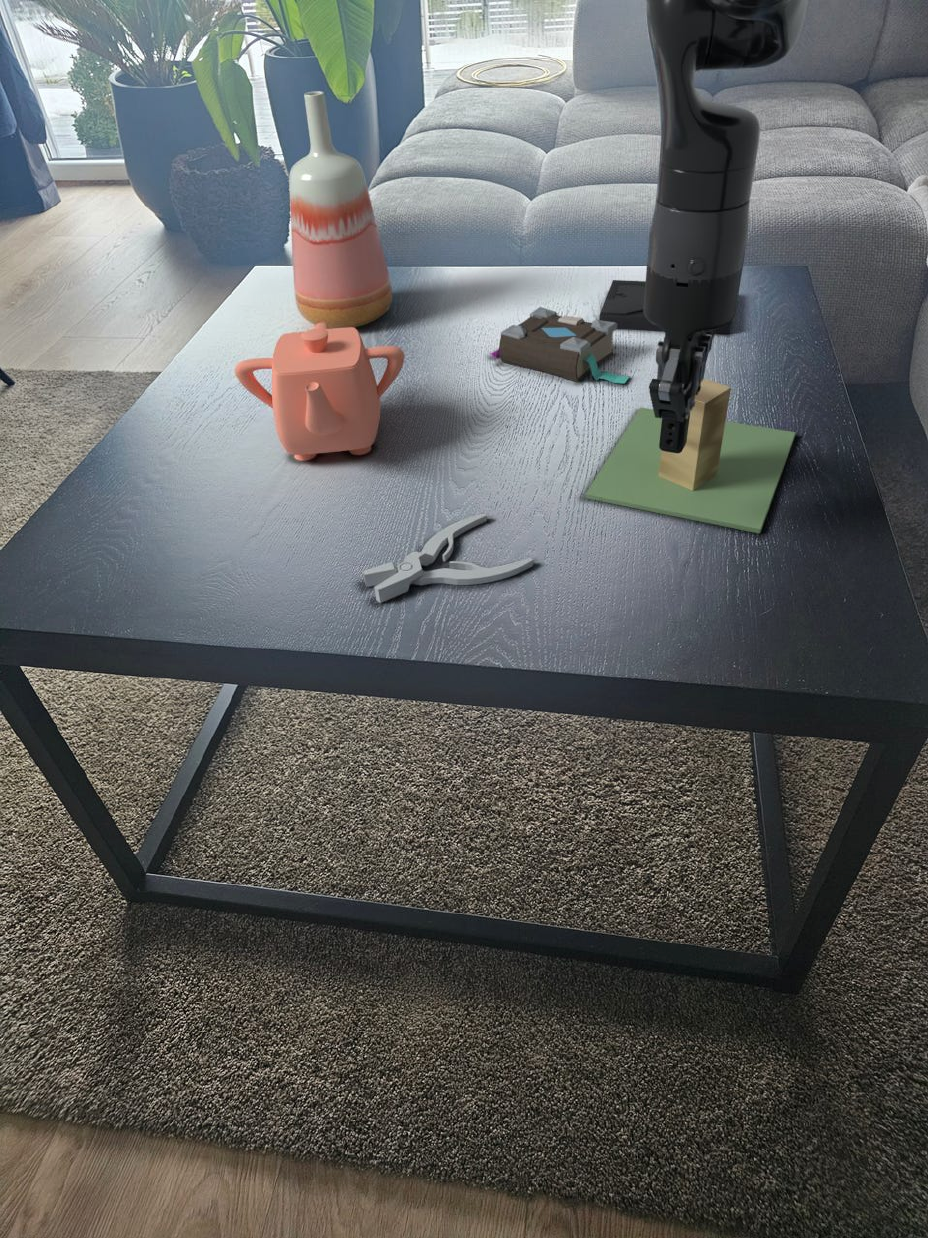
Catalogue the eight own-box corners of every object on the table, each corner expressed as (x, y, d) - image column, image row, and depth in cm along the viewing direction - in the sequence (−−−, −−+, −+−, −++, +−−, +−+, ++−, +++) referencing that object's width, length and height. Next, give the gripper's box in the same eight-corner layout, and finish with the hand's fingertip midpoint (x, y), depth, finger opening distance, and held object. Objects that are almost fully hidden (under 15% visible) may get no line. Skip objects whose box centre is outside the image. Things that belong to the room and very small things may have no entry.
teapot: (331, 396, 111) (313, 295, 102) (426, 427, 103) (415, 321, 95) (234, 454, 101) (205, 348, 93) (331, 493, 94) (309, 381, 85)
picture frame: (599, 327, 122) (727, 334, 118) (599, 312, 121) (730, 318, 117) (611, 292, 132) (731, 297, 128) (612, 277, 130) (733, 282, 126)
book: (658, 357, 114) (661, 320, 111) (613, 394, 107) (616, 356, 104) (532, 328, 124) (532, 293, 120) (483, 360, 116) (482, 324, 113)
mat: (794, 436, 97) (796, 432, 97) (760, 534, 84) (761, 529, 83) (640, 411, 103) (640, 407, 103) (585, 498, 90) (585, 493, 90)
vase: (317, 298, 137) (281, 83, 117) (404, 300, 134) (382, 80, 115) (286, 336, 126) (240, 106, 107) (380, 338, 124) (350, 104, 104)
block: (682, 459, 94) (693, 374, 87) (717, 474, 91) (731, 387, 84) (658, 476, 91) (667, 389, 85) (692, 491, 89) (705, 403, 82)
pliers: (534, 553, 81) (391, 609, 76) (534, 567, 82) (393, 623, 77) (482, 504, 88) (348, 553, 83) (483, 517, 89) (350, 566, 84)
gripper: (670, 228, 74) (652, 409, 86) (625, 283, 65) (611, 477, 77) (759, 236, 72) (728, 422, 83) (724, 294, 63) (694, 493, 74)
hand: (672, 448), depth 80 cm, fingers closed
